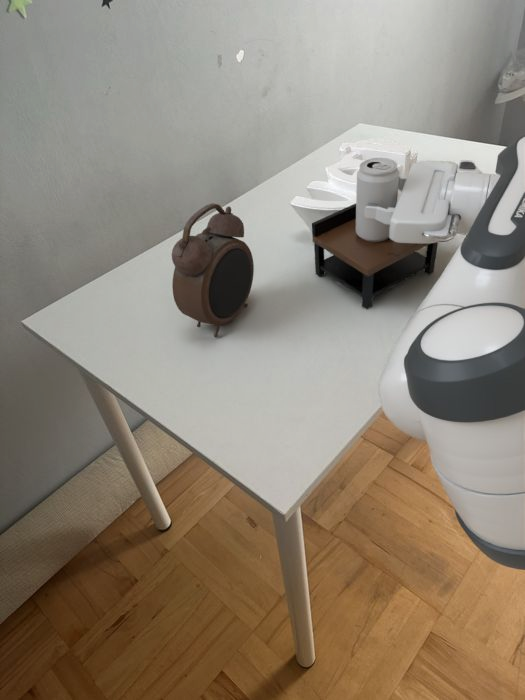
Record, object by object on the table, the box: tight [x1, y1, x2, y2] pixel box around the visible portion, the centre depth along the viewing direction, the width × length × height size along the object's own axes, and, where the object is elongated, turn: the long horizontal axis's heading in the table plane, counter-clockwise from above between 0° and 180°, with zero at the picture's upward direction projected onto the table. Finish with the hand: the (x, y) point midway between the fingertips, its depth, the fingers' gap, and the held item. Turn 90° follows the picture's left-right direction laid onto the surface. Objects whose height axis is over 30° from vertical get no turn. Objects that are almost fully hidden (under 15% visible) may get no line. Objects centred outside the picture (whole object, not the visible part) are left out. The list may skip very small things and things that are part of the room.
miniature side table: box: [311, 203, 439, 310], centre depth 87 cm, size 14×16×10 cm
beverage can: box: [356, 158, 399, 242], centre depth 81 cm, size 6×6×12 cm
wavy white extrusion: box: [289, 138, 419, 232], centre depth 104 cm, size 35×16×11 cm, turn 146°
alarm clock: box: [171, 202, 255, 338], centre depth 79 cm, size 15×7×20 cm, turn 147°
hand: (371, 196), depth 80 cm, fingers open, 7 cm apart
